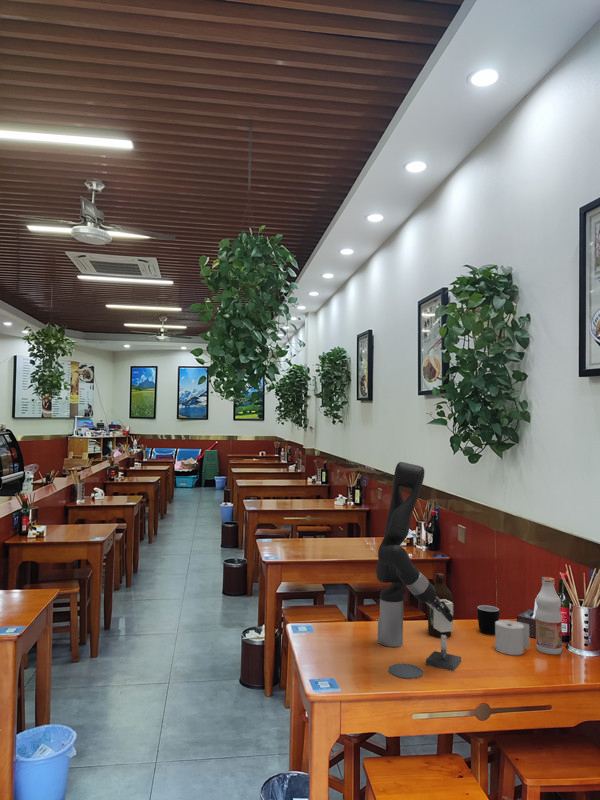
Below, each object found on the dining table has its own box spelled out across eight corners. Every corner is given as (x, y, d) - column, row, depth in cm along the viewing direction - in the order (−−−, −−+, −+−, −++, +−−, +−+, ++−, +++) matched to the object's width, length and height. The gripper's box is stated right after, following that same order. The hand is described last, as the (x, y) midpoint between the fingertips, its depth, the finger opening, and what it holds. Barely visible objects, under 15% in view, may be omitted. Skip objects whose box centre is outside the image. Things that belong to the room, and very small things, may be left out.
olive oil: (428, 628, 246) (429, 570, 248) (454, 632, 242) (454, 572, 244) (424, 636, 236) (425, 575, 238) (450, 640, 232) (451, 578, 234)
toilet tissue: (489, 649, 222) (489, 623, 223) (506, 642, 230) (505, 617, 231) (515, 657, 214) (515, 630, 215) (531, 650, 222) (530, 624, 223)
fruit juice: (531, 646, 227) (531, 575, 229) (554, 646, 227) (554, 575, 229) (542, 655, 218) (542, 580, 220) (566, 655, 218) (565, 581, 220)
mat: (383, 673, 196) (383, 671, 196) (395, 662, 207) (395, 660, 207) (416, 681, 190) (416, 679, 190) (427, 669, 200) (427, 668, 200)
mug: (502, 635, 239) (502, 611, 239) (482, 635, 238) (482, 611, 239) (491, 626, 251) (491, 603, 251) (471, 626, 250) (471, 603, 251)
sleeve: (441, 632, 204) (441, 604, 205) (433, 627, 209) (433, 600, 210) (452, 631, 206) (453, 603, 207) (445, 626, 211) (445, 599, 211)
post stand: (425, 665, 205) (426, 636, 206) (434, 656, 213) (434, 629, 214) (453, 671, 200) (453, 642, 201) (461, 662, 208) (461, 634, 209)
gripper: (436, 583, 200) (465, 615, 203) (416, 573, 213) (443, 604, 216) (423, 599, 198) (452, 632, 201) (403, 588, 211) (430, 619, 214)
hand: (447, 617), depth 208 cm, fingers closed on sleeve, 5 cm apart
